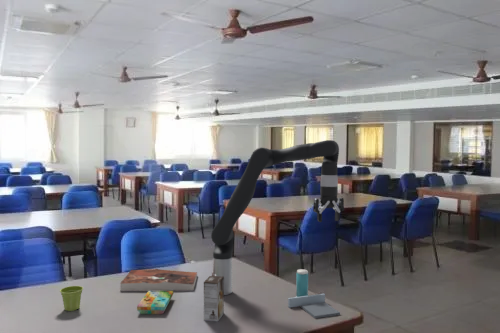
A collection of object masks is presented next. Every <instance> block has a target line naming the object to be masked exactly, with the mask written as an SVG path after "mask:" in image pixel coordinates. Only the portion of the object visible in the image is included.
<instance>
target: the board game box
mask: <svg viewBox="0 0 500 333" xmlns="http://www.w3.org/2000/svg"><path fill="white" fill-rule="evenodd" d="M197 277H198V272H195V271H181V270H167V269H161V268H160V269H159V268H153V269H152V268H151V269H150V268H149V269H148V268H147V269H131V270H130V271H129V272H128V273H127V275H126V276H125V277H124V278H123V280H122V281H121V282H120V283H119V284H120V288H119V290H120V292H133V291H135V292H143V291H144V292H145V291H147V292H148V291H173V292H174V291H176V292H177V291H194V289H195V286H196V281H197Z"/></svg>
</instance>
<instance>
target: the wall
mask: <svg viewBox="0 0 500 333" xmlns="http://www.w3.org/2000/svg"><path fill="white" fill-rule="evenodd" d="M322 302H325V303H326V294H325V293H318V294H311V295H310V294H308V296H300V297H296V296H294V297H288V298H287V307H288V308H289V309H290V308H297V307H301V305H307V304H314V303H322Z"/></svg>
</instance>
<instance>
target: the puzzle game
mask: <svg viewBox="0 0 500 333" xmlns="http://www.w3.org/2000/svg"><path fill="white" fill-rule="evenodd" d="M173 295H174V291H147V292H146V294H145V295H144V296H143V297H142V299H141V300H140V302H139V303H138V304H137V306H136V311H138V313H139V314H140V315H163V314H164V313H165V311H166V309H167V308H168V305H169V304H170V301H171V300H172V297H173Z"/></svg>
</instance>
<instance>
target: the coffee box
mask: <svg viewBox="0 0 500 333" xmlns="http://www.w3.org/2000/svg"><path fill="white" fill-rule="evenodd" d="M207 277H208V278H206V279H205V280H204V281H203V321H210V322H219V321H220V319H221V318H222V316H223V315H224V313H225V295H224V277H223V276H212V275H209V276H207Z"/></svg>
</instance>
